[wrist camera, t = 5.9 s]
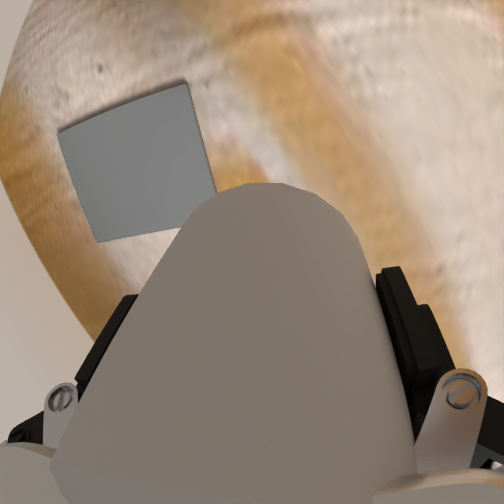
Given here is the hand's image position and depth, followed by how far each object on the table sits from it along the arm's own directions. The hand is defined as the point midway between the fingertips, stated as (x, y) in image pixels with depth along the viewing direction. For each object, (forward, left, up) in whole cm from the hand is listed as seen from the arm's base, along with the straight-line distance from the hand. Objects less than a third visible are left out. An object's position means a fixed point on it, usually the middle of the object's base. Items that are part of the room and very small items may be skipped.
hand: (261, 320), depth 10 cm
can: (0, 0, -4) cm, 4 cm away
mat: (+2, +14, -20) cm, 24 cm away
